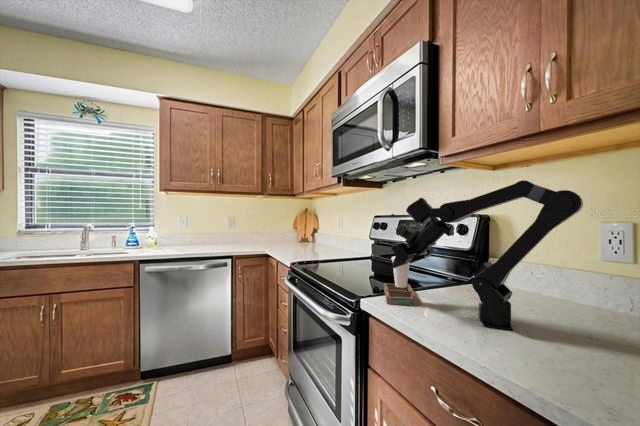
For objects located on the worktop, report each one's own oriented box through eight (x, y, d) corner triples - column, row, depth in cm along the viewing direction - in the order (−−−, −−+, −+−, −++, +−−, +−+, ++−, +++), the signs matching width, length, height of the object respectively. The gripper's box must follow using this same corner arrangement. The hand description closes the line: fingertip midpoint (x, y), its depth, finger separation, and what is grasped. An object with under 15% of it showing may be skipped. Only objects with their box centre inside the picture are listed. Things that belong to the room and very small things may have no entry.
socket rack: (383, 288, 108) (383, 283, 108) (409, 289, 106) (409, 284, 106) (386, 304, 89) (387, 297, 89) (418, 305, 88) (418, 299, 88)
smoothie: (414, 288, 91) (414, 245, 91) (396, 289, 89) (396, 245, 90) (405, 283, 97) (405, 243, 97) (387, 284, 96) (388, 243, 96)
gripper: (424, 216, 97) (396, 245, 105) (396, 217, 84) (367, 250, 92) (448, 240, 91) (416, 269, 99) (421, 245, 78) (388, 277, 86)
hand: (397, 265), depth 94 cm, fingers closed on smoothie, 6 cm apart
